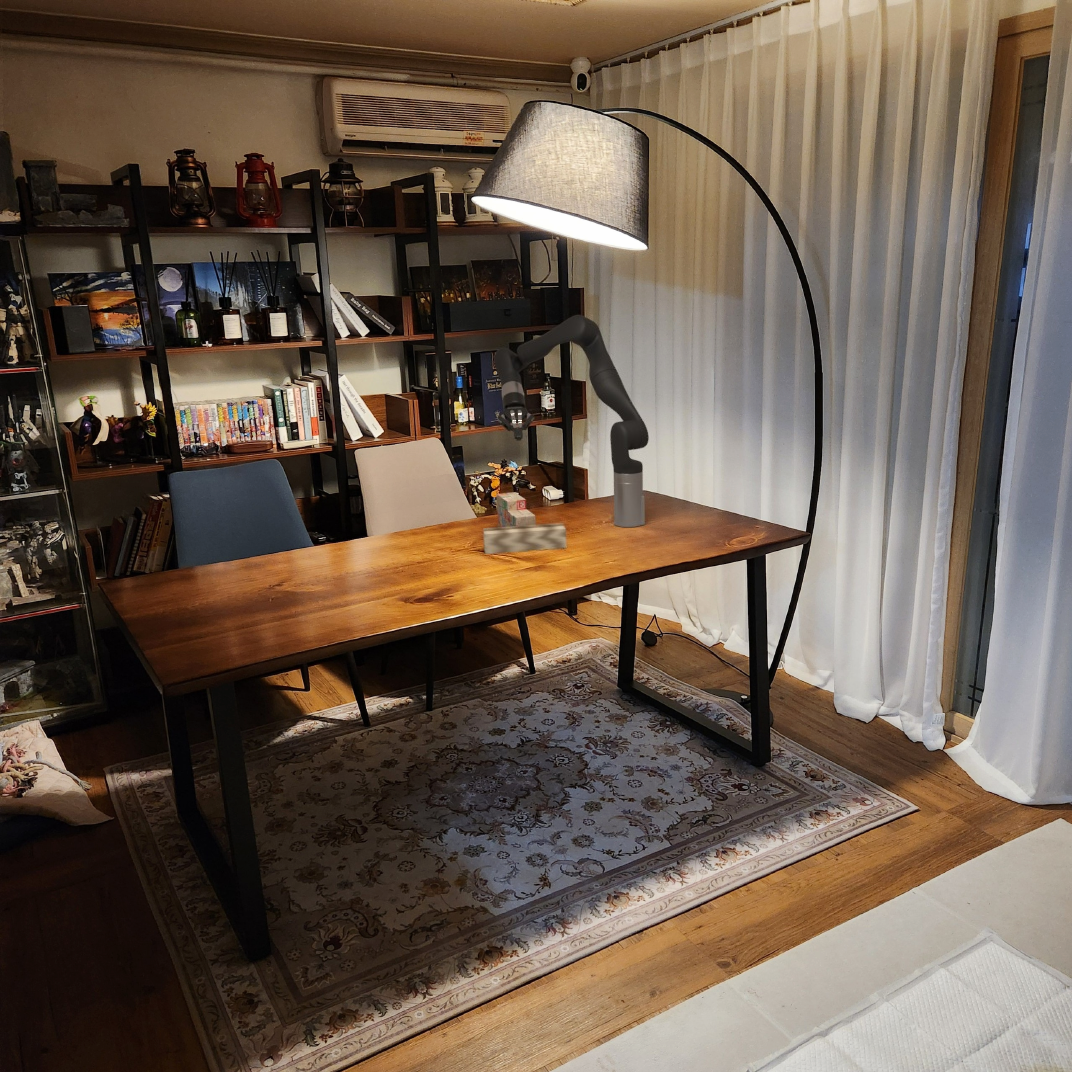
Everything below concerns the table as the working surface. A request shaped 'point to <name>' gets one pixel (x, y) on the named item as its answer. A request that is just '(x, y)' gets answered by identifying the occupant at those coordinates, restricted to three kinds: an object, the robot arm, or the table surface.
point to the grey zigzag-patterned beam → (524, 538)
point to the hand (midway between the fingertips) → (518, 439)
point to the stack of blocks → (513, 511)
